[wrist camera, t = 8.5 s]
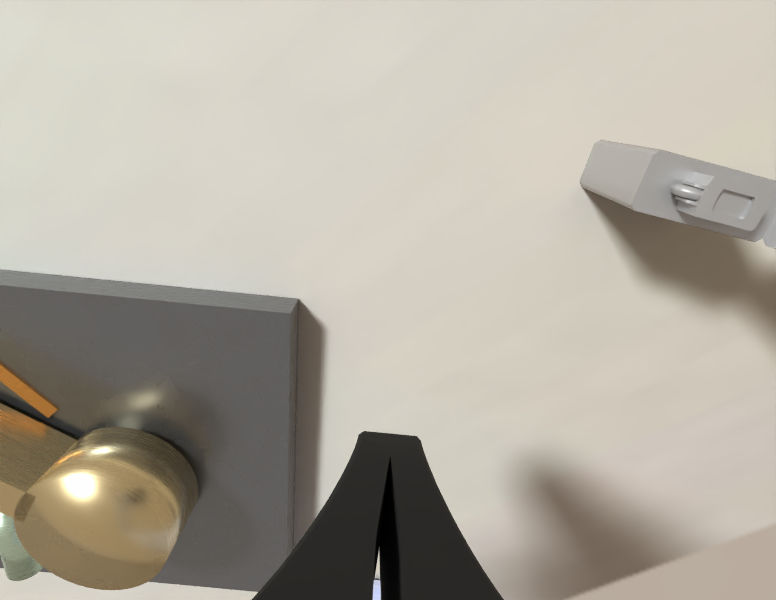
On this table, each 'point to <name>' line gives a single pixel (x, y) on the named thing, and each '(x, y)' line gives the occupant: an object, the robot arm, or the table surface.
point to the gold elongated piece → (94, 500)
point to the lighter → (684, 190)
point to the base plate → (167, 404)
